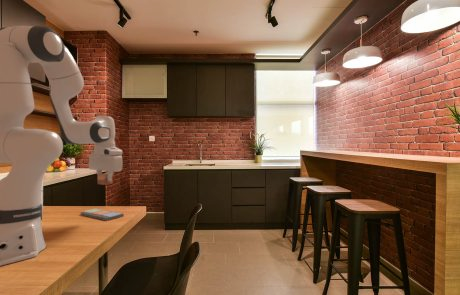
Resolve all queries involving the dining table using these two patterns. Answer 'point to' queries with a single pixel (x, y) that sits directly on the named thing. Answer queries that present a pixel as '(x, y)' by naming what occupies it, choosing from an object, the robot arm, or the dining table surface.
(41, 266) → the dining table surface
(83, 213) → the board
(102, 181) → the terracotta cube
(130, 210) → the dining table surface
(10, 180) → the robot arm
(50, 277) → the dining table surface
